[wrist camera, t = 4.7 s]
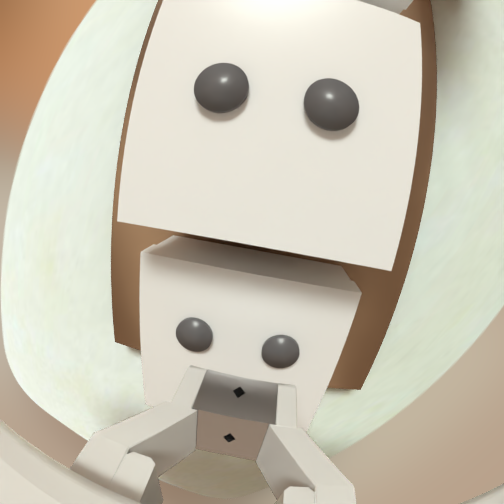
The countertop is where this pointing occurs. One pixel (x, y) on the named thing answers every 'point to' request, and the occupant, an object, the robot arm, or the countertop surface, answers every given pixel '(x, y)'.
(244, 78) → the two-pip tile
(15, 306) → the countertop surface
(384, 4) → the one-pip tile
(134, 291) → the walnut board
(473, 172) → the countertop surface
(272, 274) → the three-pip tile
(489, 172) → the countertop surface
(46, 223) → the countertop surface
